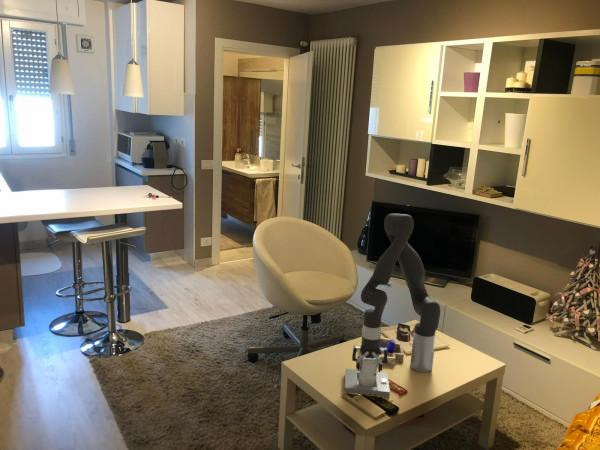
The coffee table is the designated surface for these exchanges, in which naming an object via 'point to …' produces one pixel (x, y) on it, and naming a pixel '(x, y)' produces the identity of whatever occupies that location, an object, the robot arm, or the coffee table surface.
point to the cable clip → (389, 347)
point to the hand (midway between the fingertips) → (368, 370)
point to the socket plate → (379, 388)
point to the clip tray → (395, 356)
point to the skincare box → (368, 372)
